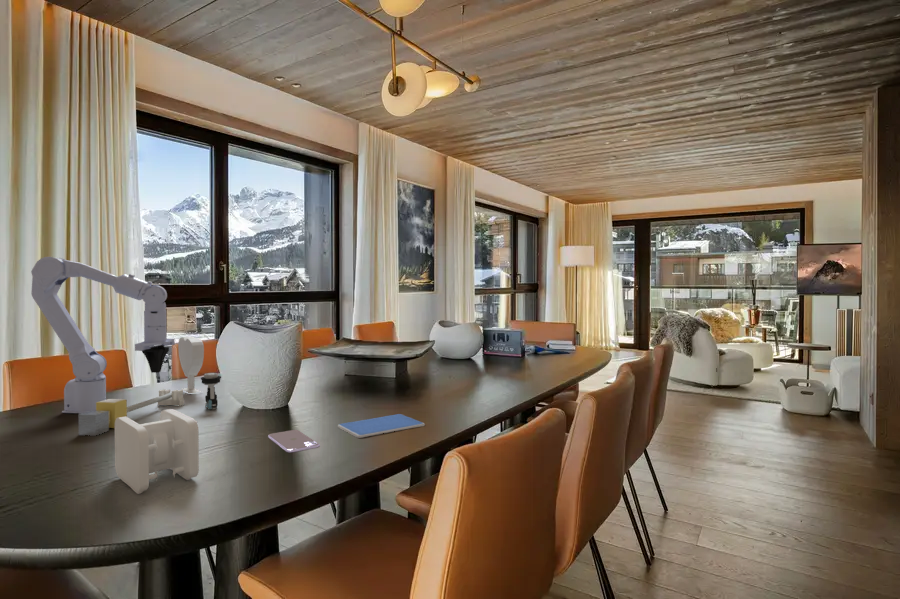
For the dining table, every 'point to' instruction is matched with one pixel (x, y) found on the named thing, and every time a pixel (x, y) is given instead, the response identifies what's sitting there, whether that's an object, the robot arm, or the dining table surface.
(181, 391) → the cable comb
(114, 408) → the matte pale yellow cube
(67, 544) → the dining table surface
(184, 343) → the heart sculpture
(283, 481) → the dining table surface
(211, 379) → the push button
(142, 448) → the cable organizer
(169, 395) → the rod
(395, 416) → the tablet computer
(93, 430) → the connector
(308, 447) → the mobile phone
